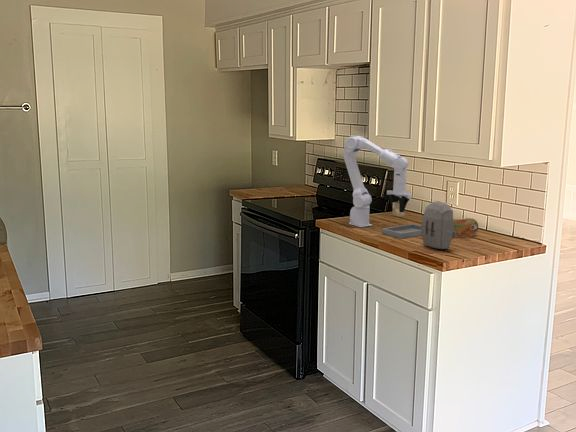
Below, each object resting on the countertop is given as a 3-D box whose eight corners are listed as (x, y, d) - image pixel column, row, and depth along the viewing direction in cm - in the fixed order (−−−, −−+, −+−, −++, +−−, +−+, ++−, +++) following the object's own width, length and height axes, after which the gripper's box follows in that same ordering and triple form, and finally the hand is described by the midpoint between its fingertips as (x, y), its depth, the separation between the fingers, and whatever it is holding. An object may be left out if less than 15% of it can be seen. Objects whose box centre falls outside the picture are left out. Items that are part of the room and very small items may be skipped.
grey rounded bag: (455, 250, 235) (458, 203, 231) (440, 253, 231) (443, 204, 227) (429, 242, 248) (432, 197, 244) (414, 245, 244) (417, 199, 240)
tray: (382, 233, 264) (382, 228, 264) (412, 228, 275) (412, 223, 275) (400, 238, 255) (400, 233, 254) (431, 233, 266) (431, 228, 265)
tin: (449, 238, 258) (450, 219, 256) (445, 236, 261) (446, 218, 259) (478, 236, 262) (479, 218, 260) (474, 234, 265) (475, 217, 263)
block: (392, 214, 272) (392, 202, 271) (398, 213, 274) (398, 201, 273) (398, 216, 269) (398, 203, 267) (404, 215, 271) (405, 202, 270)
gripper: (417, 184, 265) (415, 212, 267) (394, 180, 276) (393, 208, 279) (406, 185, 261) (405, 214, 263) (384, 181, 272) (383, 209, 275)
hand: (398, 211), depth 271 cm, fingers closed on block, 4 cm apart
